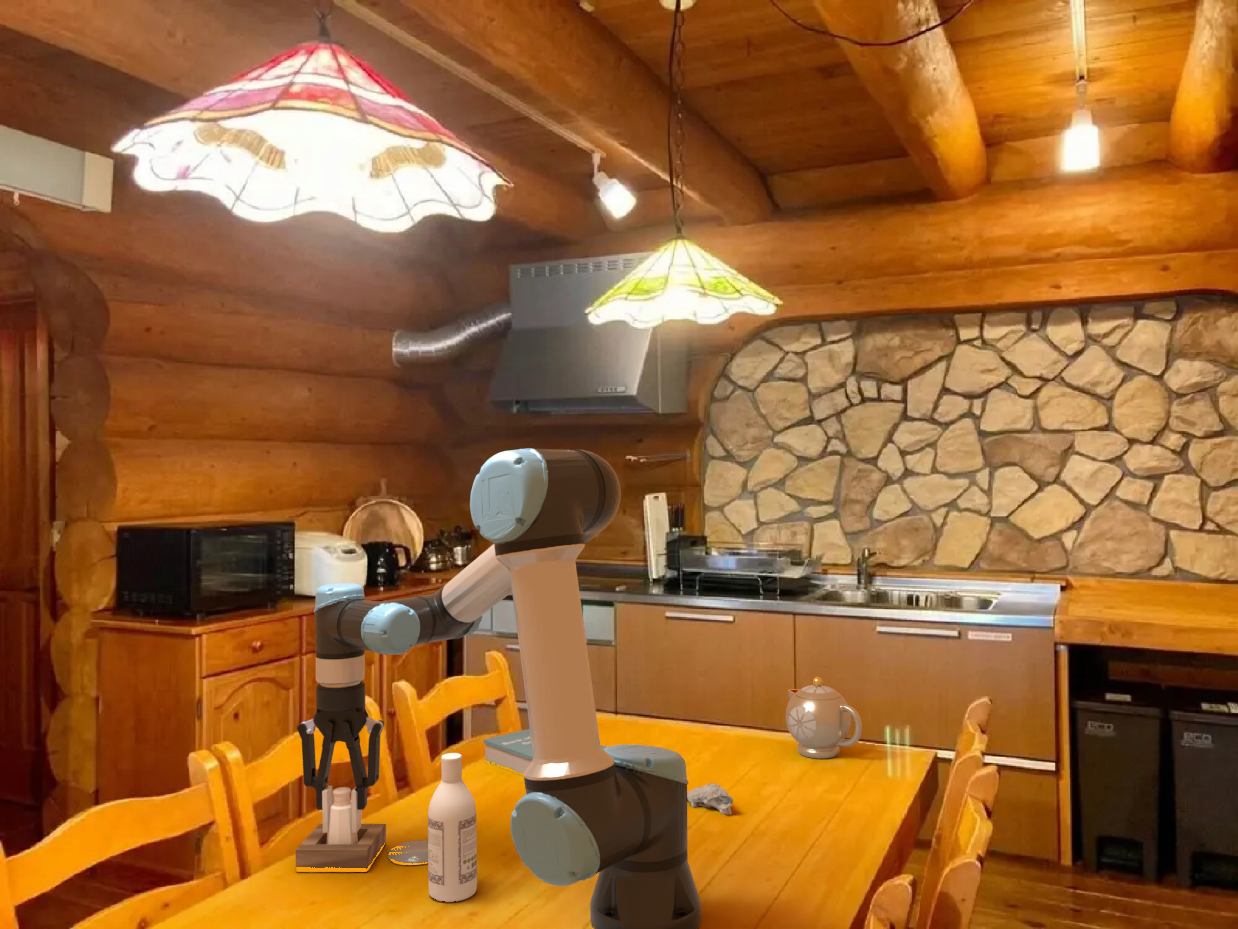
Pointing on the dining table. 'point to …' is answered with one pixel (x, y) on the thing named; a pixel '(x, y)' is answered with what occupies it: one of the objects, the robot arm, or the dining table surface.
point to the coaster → (411, 852)
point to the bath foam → (452, 835)
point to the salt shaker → (341, 818)
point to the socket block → (341, 849)
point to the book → (511, 750)
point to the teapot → (820, 720)
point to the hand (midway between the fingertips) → (342, 829)
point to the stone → (711, 798)
